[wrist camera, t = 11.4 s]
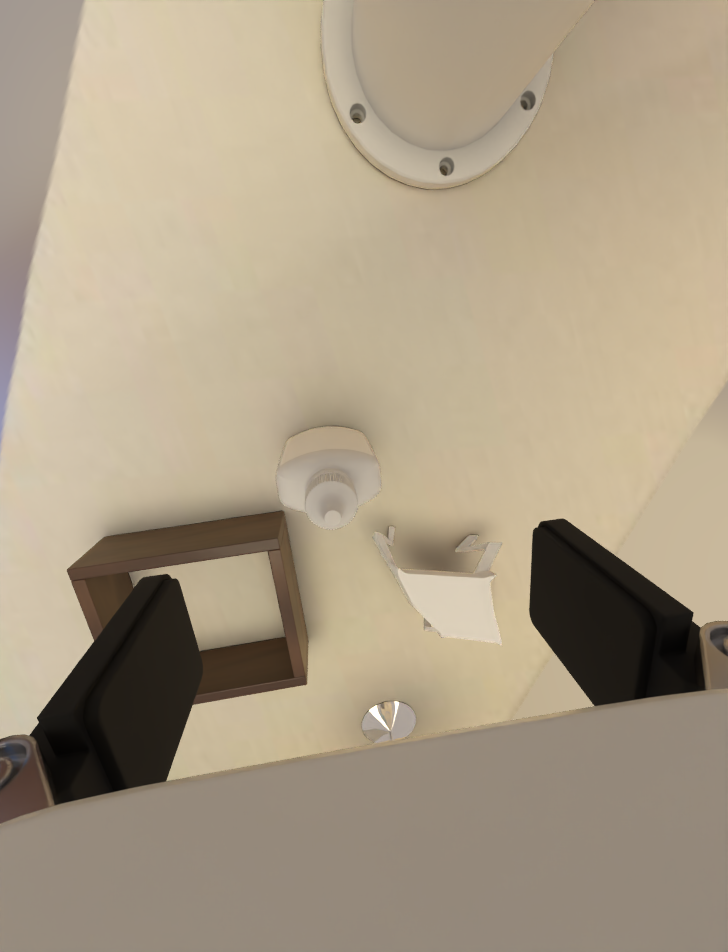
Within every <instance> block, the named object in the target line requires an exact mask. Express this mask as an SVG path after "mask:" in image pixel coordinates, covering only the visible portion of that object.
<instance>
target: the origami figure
mask: <svg viewBox="0 0 728 952" xmlns="http://www.w3.org/2000/svg"><path fill="white" fill-rule="evenodd" d="M394 533H395V527H392V526H389V530H388V538H386V537H385V536H384V535H383V534H381V533H379V532H376V531H375V532H374V534H373V537H372V538H373V540H374V542H375V543H376V545H377V547H378V549H379V551H380V553H381V555H382V557H383V558H384V560H385V562H386V563H387V565H388V567H389V568H390V570H391V572H392V573H393V575H394V577H395V579H396V581H397V583H398V584H399V586H400V588H401V590H402V592H403V594H404V595H405V597H406V599H407V601H408V602H409V603H410V604H411V605H412V606H413V607H414V608H415V609H416V610H417V611H418V612H419V613H420V614H421V615H422V616H423V617H424V630H426V631H431V632H437V633H438V634H439V636H440V637H441V638H445V637H452V638H459V639H467V640H475V641H482V642H490V643H497V644H499V645H501V646H502V640H501V636H500V632H499V628H498V624H497V621H496V617H495V614H494V607H493V600H492V593H491V586H490V582H491V581H492V580H493V579H494V578H495V577H496V576H497V575H496V574H494V573H493V572H491V571H489V569H490V567H491V565H492V563H493V562H494V560H495V558H496V555H497V553H498V551H499V549H500V547H501V545H502V543H503V542H488V543H483V544H478V545H472V546H470V545H471V544H473V543H474V542H475V541H476V540H477V538H478V536H479V535H469V536H468V537H467V538H466V539H465V540H464V541H463V542H462V543H461V544H460V545H459V546H458V547H457V548H456V551H455V552H471V551H480V550H485V551H484V553H483V555H482V557H481V559H480V561H479V563H478V565H477V566H476V568H475V570H474V572H473V573H466V572H451V571H435V570H419V569H404V568H397V566H396V564H395V561H394V559H393V557H392V555H391V553H390V551H389V548H388V546H387V545H389V546H393V541H394ZM431 625H432V626H433V627H431Z"/></svg>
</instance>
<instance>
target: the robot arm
mask: <svg viewBox="0 0 728 952" xmlns="http://www.w3.org/2000/svg"><path fill="white" fill-rule="evenodd" d="M594 1H595V0H323V8H322V16H321V54H322V62H323V71H324V78H325V81H326V85H327V89H328V93H329V96H330V100H331V103H332V106H333V108H334V110H335V112H336V115H337V117H338V119H339V121H340V124H341V126H342V128H343V129H344V131H345V132H346V134H347V135H348V137H349V138H350V140H351V141H352V143H353V144H354V146H355V147H356V148H357V149H358V150H359V152H360V153H361V154H362V155H363V156H364V157H365V158H366V159H367V160H368V161H369V162H370V163H371V164H372V165H373V166H375V167H376V168H378V169H379V170H380V171H382V172H383V173H385V174H386V175H387V176H389V177H391V178H393V179H395V180H397V181H400V182H402V183H404V184H407V185H410V186H415V187H420V188H425V189H445V188H451V187H455V186H459V185H462V184H466V183H468V182H470V181H472V180H474V179H476V178H478V177H480V176H482V175H484V174H486V173H487V172H488V171H489V170H491V169H492V168H493V167H494V166H496V165H497V164H498V163H499V162H501V161H502V160H503V159H504V158H505V157H506V155H507V154H508V153H509V152H510V151H511V150H512V149H513V148H514V147H515V146H516V145H517V144H518V142H519V141H520V139H521V138H522V137H523V135H524V134H525V133H526V131H527V130H528V128H529V127H530V125H531V123H532V122H533V120H534V118H535V116H536V114H537V112H538V110H539V108H540V106H541V103H542V100H543V97H544V94H545V91H546V88H547V85H548V82H549V79H550V73H551V67H552V61H553V56H554V51H555V50H556V49H557V48H558V46H559V45H560V44H561V43H562V41H563V40H564V39H565V38H566V36H567V35H568V34H569V33H570V31H571V30H572V29H573V28H574V26H575V25H576V24H577V22H578V21H579V20H580V19H581V17H582V16H583V15H584V14H585V12H586V11H587V10H588V9H589V7H590V6H591V5H592V4H593V2H594ZM521 105H522V106H523V108H524V109H523V108H522V106H521ZM355 117H356V118H359V119H360V121H361V123H355V122H354V121H353V118H355ZM441 168H442V169H444V170H445V171H446V175H443V174H442V173H441V172H440V169H441ZM529 612H530V618H531V621H532V623H533V625H534V626H535V628H536V629H537V630H538V632H539V633H540V634H541V636H542V637H543V638H544V640H545V641H546V642H547V643H548V645H549V646H550V647H551V649H552V650H553V651H554V653H555V654H556V655H557V657H558V658H559V659H560V661H561V662H562V663H563V664H564V666H565V667H566V669H567V670H568V671H569V673H570V674H571V675H572V677H573V678H574V679H575V681H576V682H577V683H578V685H579V686H580V687H581V689H582V690H583V691H584V693H585V694H586V695H587V697H588V698H589V699H590V700H591V702H592V703H593V704H594V706H593V707H588V708H582V709H576V710H569V711H563V712H558V713H552V714H546V715H540V716H534V717H528V718H522V719H516V720H510V721H504V722H498V723H492V724H486V725H480V726H474V727H468V728H463V729H457V730H451V731H445V732H439V733H434V734H428V735H422V736H416V737H410V738H405V739H399V740H393V741H388V742H382V743H376V744H370V745H365V746H359V747H353V748H348V749H342V750H336V751H330V752H325V753H319V754H314V755H308V756H303V757H297V758H292V759H286V760H280V761H275V762H269V763H264V764H258V765H253V766H247V767H242V768H236V769H231V770H225V771H219V772H214V773H208V774H203V775H197V776H192V777H187V778H182V779H176V780H171V781H166V780H167V777H168V774H169V771H170V768H171V765H172V762H173V760H174V757H175V754H176V751H177V748H178V745H179V742H180V739H181V737H182V734H183V731H184V728H185V725H186V722H187V719H188V717H189V714H190V711H191V708H192V705H193V702H194V699H195V696H196V694H197V691H198V688H199V685H200V682H201V679H202V676H203V663H202V659H201V655H200V652H199V648H198V645H197V642H196V638H195V635H194V631H193V628H192V624H191V621H190V618H189V614H188V611H187V607H186V604H185V601H184V597H183V594H182V590H181V587H180V584H179V581H178V580H177V579H172V578H171V577H170V576H169V575H168V574H164V575H157V576H150V577H144V578H142V579H141V580H140V581H139V582H138V584H137V585H136V586H135V588H134V589H133V590H132V592H131V593H130V594H129V596H128V597H127V598H126V600H125V601H124V602H123V604H122V605H121V606H120V608H119V609H118V610H117V612H116V613H115V614H114V616H113V617H112V618H111V620H110V621H109V622H108V624H107V625H106V626H105V628H104V629H103V630H102V632H101V633H100V634H99V636H98V637H97V638H96V640H95V641H94V642H93V644H92V645H91V646H90V648H89V649H88V650H87V652H86V653H85V654H84V656H83V657H82V658H81V660H80V661H79V662H78V664H77V665H76V666H75V668H74V669H73V670H72V672H71V673H70V674H69V676H68V677H67V678H66V680H65V681H64V682H63V684H62V685H61V686H60V688H59V689H58V690H57V692H56V693H55V694H54V696H53V697H52V698H51V700H50V701H49V702H48V704H47V705H46V706H45V708H44V709H43V710H42V712H41V713H40V714H39V716H38V717H37V719H38V721H39V723H38V725H37V726H36V727H35V729H34V730H33V731H32V733H31V734H30V736H28V735H13V736H9V737H6V738H3V739H0V952H728V621H714V622H710V623H706V624H705V625H704V626H702V627H701V628H700V627H699V626H698V625H696V624H695V623H694V622H692V617H693V612H692V611H691V610H689V609H688V608H686V607H685V606H684V605H682V604H681V603H680V602H678V601H677V600H675V599H674V598H673V597H671V596H670V595H669V594H667V593H666V592H665V591H663V590H662V589H660V588H659V587H657V586H656V585H655V584H654V583H652V582H651V581H649V580H648V579H647V578H645V577H644V576H643V575H641V574H640V573H638V572H637V571H635V570H634V569H633V568H631V567H630V566H629V565H627V564H626V563H625V562H623V561H622V560H620V559H619V558H618V557H616V556H615V555H614V554H612V553H611V552H609V551H608V550H607V549H605V548H604V547H603V546H601V545H600V544H598V543H597V542H596V541H594V540H593V539H592V538H590V537H589V536H587V535H586V534H585V533H583V532H582V531H580V530H579V529H578V528H576V527H575V526H574V525H572V524H571V523H569V522H568V521H567V520H565V519H556V520H549V521H542V522H540V524H539V526H538V528H535V529H534V530H533V540H532V563H531V586H530V608H529Z"/></svg>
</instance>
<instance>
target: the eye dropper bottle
mask: <svg viewBox="0 0 728 952" xmlns="http://www.w3.org/2000/svg"><path fill="white" fill-rule="evenodd" d="M276 484H277V491H278V496H279V499H280V501H281V503H282V504H283V505H285V506H286V507H288V508H291V509H294V510H297V511H300V512H305V513H306V514H307V517H309V519H310V521H312V523H314V525H317V526H319V527H321V528H324V529H329V530H330V529H332V530H333V529H338V528H341V527H343V526H346V525H348V523H350V521H352V519H353V517H355V515H356V512H357V510H358V507H359V506H361V505H363V504H365V503H367V502H368V501H370V500H372V499H373V498H375V497H376V496H377V495H378V494H379V493H380V490H381V471H380V464H379V461H378V459H377V457H376V455H375V453H374V451H373V449H372V447H371V445H370V443H369V442H368V440H367V438H366V436H365V435H364V434H363V433H362V432H360V431H358V430H354V429H351V428H346V427H339V426H324V427H317V428H313V429H309V430H306V431H303V432H301V433H299V434H297V435H295V436H293V437H291V438H290V439H288V440H287V441H286V443H285V445H284V448H283V451H282V454H281V457H280V460H279V463H278V466H277V471H276Z"/></svg>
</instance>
